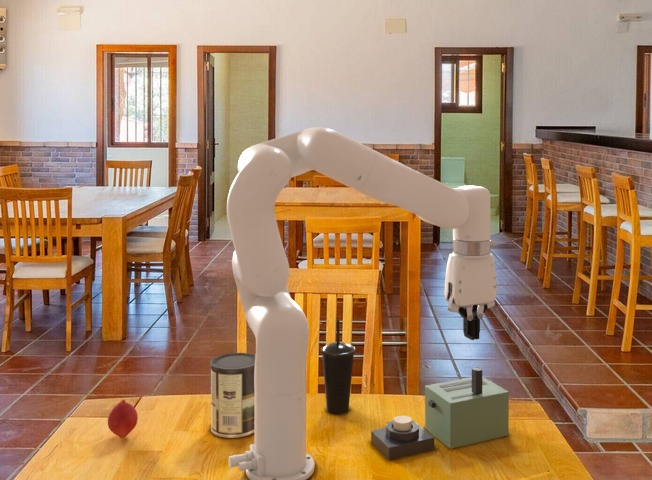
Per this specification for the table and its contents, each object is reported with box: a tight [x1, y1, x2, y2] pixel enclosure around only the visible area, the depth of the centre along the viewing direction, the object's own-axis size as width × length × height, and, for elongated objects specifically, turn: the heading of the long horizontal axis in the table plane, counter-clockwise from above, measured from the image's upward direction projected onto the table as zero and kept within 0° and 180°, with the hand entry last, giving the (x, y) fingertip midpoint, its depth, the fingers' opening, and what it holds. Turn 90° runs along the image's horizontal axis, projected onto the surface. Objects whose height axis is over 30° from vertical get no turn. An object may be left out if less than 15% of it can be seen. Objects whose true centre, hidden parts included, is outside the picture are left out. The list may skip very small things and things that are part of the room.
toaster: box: [424, 375, 510, 449], centre depth 146 cm, size 15×10×9 cm
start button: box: [392, 415, 413, 431], centre depth 140 cm, size 4×4×2 cm
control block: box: [370, 419, 435, 461], centre depth 140 cm, size 10×8×4 cm
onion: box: [107, 398, 139, 439], centre depth 144 cm, size 6×6×8 cm
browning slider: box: [471, 367, 483, 394], centre depth 144 cm, size 2×2×5 cm
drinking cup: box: [320, 319, 356, 415], centre depth 157 cm, size 8×8×20 cm
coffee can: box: [209, 352, 256, 439], centre depth 148 cm, size 10×10×14 cm
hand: (471, 337), depth 143 cm, fingers closed
